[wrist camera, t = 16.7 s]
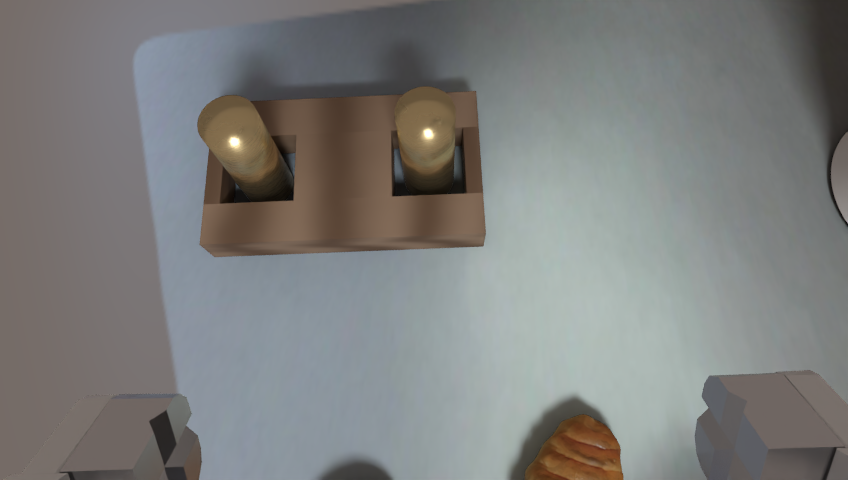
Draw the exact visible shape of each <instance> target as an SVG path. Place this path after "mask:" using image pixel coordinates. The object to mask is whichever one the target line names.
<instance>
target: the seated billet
mask: <svg viewBox="0 0 848 480" xmlns="http://www.w3.org/2000/svg"><path fill="white" fill-rule="evenodd" d="M197 127H198V132H199V134H200V136H201V138H202V139H203V141H204V142H205V143H206V145H207V146H208V147H209V148H210V150H211V151H212V152H213V154H214V155H215V156H216V157H217V159H218V160H219V161H220V163H221V164H222V165H223V166H224V168H225V169H226V170H227V172H228V173H229V174H230V175H231V177H232V178H233V179H234V181H235V182H236V183H237V184H238V186H239V187H240V188H241V190H242V191H243V192H244V193H245V195H246V196H247V197H248V199H249V200H250V201H251V202H273V201H286V200H287V199H288V198H289V196H290V195H291V193H292V191H293V187H294V179H293V175H292V173H291V172H290V170H289V168H288V166H287V164H286V163H285V161H284V159H283V157H282V155H281V154H280V152H279V150H278V148H277V146H276V144H275V143H274V141H273V139H272V137H271V135H270V134H269V132H268V130H267V128H266V126H265V125H264V123H263V121H262V119H261V117H260V115H259V114H258V112H257V110H256V108H255V107H254V105H253V104H252V103H251V102H250V101H249V100H247V99H246V98H243V97H241V96H236V95H227V96H222V97H219V98H217V99H215V100H213V101H211V102H210V103H209V104H207V105H206V106H205V108H204V109H203V110H202V112H201V113H200V115H199V118H198V125H197Z"/></svg>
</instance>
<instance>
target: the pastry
mask: <svg viewBox="0 0 848 480" xmlns="http://www.w3.org/2000/svg"><path fill="white" fill-rule="evenodd" d="M620 451H621V449H620V445H619V443H618V441H617V439H616V438H615V436H614V435H613V434H612V432H611V431H610V429H609V428H608V427H607V426H606V425H604V424H603V423H601V422H600V421H597V420H595V419H593V418H592V417H590V416H588V415H585V414H582V415H577V416H575V417H572V418H570V419H566V420H564V421H562V422H561V423H560V425H559V426H558V428H557V429H556V431H555V432H554V433H553V435H552V436H551V437H550V438H549V439H548V440H547V441H545V442H544V444H543V446H542V447H541V449H540V451H539V453H538V455H537V457H536V458H535V460H534V461H533V462H532V463H531V464H530V465H529V466H528V467H527V469H526V471H525V480H623V473H622V468H621V463H620Z"/></svg>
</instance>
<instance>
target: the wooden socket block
mask: <svg viewBox="0 0 848 480" xmlns="http://www.w3.org/2000/svg"><path fill="white" fill-rule="evenodd" d="M446 94H447V95H449V97H450V98H451V99H452V101H453V103H454V105H455V110H456V120H455V146H462V155H463V173H464V190H465V194H441V195H417V196H395V175H394V149H400V148H399V142H398V135H397V128H396V122H395V107H396V104H397V102H398V101H399V99H400V98H401V97H402V96H403V95H404V94H402V95H380V96H358V97H336V98H314V99H291V100H269V101H250V102H251V103H252V104H253V105H254V107H255V108H256V110H257V112H258V114H259V115H260V117H261V119H262V121H263V123H264V125H265V126H266V128H267V130H268V132H269V134H270V135H271V137H272V139H273V141H274V143H275V144H276V146H277V148H278V150H279V152H280V154H284V153H296V156H295V178H294V200H293V201H273V202H249V203H234V197H235V184H236V182H235V181H234V179H233V178H232V177H231V175H230V174H229V173H228V172H227V170H226V169H225V168H224V166H223V165H222V164H221V163H220V161H219V160H218V159H217V157H216V156H215V155H214V154H213V152H212V151H211V150H210V148H209V156H208V166H207V176H206V186H205V196H204V206H203V216H202V226H201V237H200V245H201V246H202V247H203V248H204V249H206V250H207V251H208V252H209V253H210V254H212V255H213V256H214V257H227V256H252V255H277V254H303V253H328V252H353V251H378V250H404V249H429V248H454V247H479V246H483V245H484V240H485V234H486V230H485V215H484V201H483V186H482V172H481V157H480V143H479V128H478V113H477V99H476V91H468V92H446Z"/></svg>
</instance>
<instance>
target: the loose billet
mask: <svg viewBox="0 0 848 480" xmlns="http://www.w3.org/2000/svg"><path fill="white" fill-rule="evenodd" d="M455 120H456V110H455V105H454V103H453V101H452V99H451V98H450V97H449V95H447V94H446V93H445V92H443V91H442V90H440V89H437V88H434V87H426V86H424V87H417V88H414V89H412V90H410V91H408V92H406V93H405V94H404V95H403V96H402V97H401V98H400V99H399V101H398V102H397V104H396V107H395V122H396V128H397V135H398V142H399V148H400V155H401V161H402V168H403V174H404V181H405V185H406V188H407V190H408V191H409V192H410V194H411V195H413V196H417V195H441V194H448V192H449V191H450V190H451V188H452V186H453V182H454V156H455Z"/></svg>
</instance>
